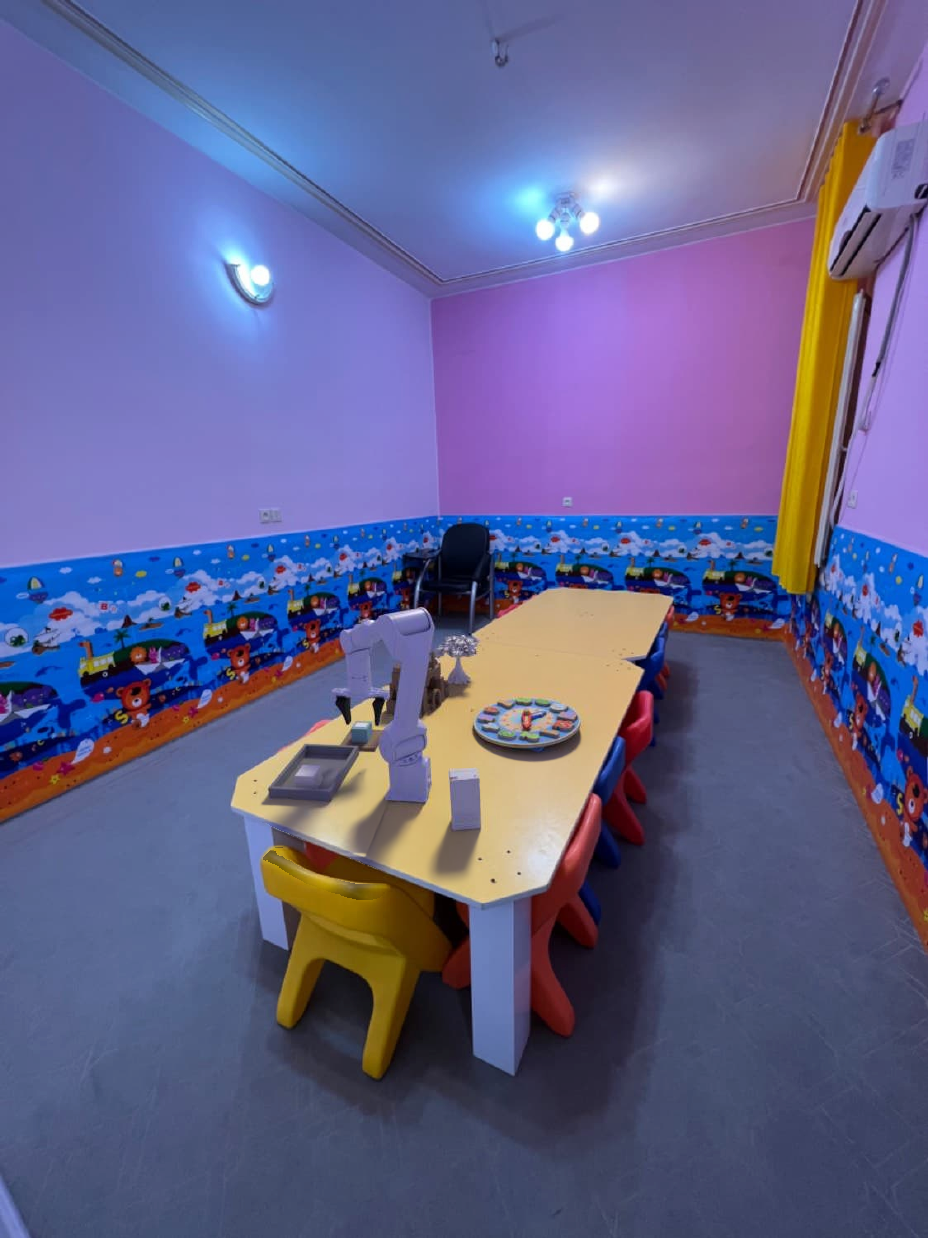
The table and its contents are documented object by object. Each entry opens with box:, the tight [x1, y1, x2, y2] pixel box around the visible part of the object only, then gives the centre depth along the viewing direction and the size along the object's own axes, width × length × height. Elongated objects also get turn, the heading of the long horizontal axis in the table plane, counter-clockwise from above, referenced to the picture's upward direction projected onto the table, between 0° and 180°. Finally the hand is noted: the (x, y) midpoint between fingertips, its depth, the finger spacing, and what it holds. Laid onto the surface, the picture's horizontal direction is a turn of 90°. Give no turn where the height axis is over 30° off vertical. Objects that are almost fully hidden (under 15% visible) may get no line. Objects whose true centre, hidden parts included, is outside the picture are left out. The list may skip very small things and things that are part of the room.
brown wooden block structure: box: [385, 650, 450, 718], centre depth 156 cm, size 22×15×19 cm, turn 152°
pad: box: [339, 729, 383, 752], centre depth 135 cm, size 10×10×1 cm
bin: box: [267, 743, 360, 802], centre depth 119 cm, size 15×20×3 cm
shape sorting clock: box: [473, 697, 582, 753], centre depth 140 cm, size 31×30×6 cm
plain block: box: [295, 765, 323, 789], centre depth 114 cm, size 4×4×4 cm
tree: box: [433, 635, 479, 685], centre depth 174 cm, size 18×16×17 cm
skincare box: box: [448, 767, 482, 831], centre depth 100 cm, size 6×4×12 cm
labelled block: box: [350, 720, 373, 743], centre depth 134 cm, size 4×4×4 cm
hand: (363, 723), depth 125 cm, fingers open, 7 cm apart
